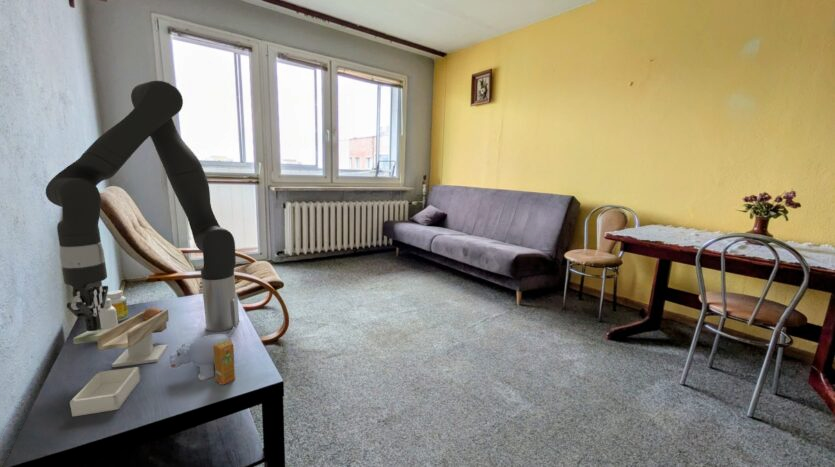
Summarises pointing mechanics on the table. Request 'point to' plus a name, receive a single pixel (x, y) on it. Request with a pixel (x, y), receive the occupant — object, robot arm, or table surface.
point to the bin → (105, 391)
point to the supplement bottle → (119, 304)
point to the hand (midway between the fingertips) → (94, 329)
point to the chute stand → (141, 353)
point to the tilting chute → (125, 332)
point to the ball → (151, 313)
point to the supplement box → (224, 362)
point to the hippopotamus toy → (200, 353)
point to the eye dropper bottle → (108, 315)
